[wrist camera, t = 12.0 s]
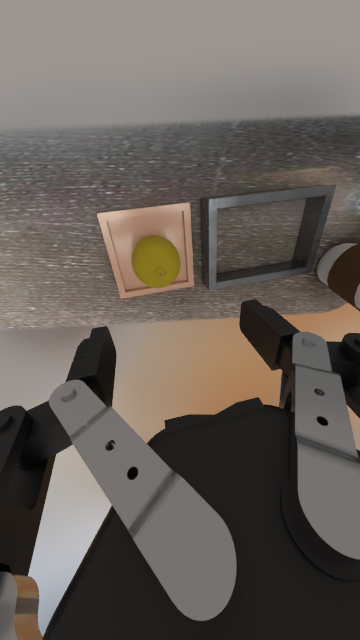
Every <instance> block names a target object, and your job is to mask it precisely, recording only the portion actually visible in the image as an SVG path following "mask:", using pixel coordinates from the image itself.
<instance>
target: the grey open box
mask: <svg viewBox="0 0 360 640" xmlns="http://www.w3.org/2000/svg"><path fill="white" fill-rule="evenodd" d="M335 188H336V185H315V186H306V187H298V188H289V189H280V190H272V191H263V192H254V193H245V194H237V195H228V196H219V197H211V198H202V199H201V227H202V268H203V283H204V284H205V286H206V287H207V288H208V289H209V290H215V289H220V288H226V287H232V286H237V285H243V284H249V283H254V282H260V281H266V280H271V279H277V278H283V277H289V276H294V275H300V274H306V273H311V269H312V266H313V263H314V259H315V256H316V252H317V249H318V246H319V242H320V239H321V235H322V232H323V229H324V225H325V222H326V219H327V215H328V212H329V208H330V205H331V202H332V198H333V195H334V191H335ZM300 198H307V202H306V207H305V211H304V215H303V219H302V224H301V228H300V232H299V236H298V241H297V245H296V249H295V254H294V258H293V261H292V262H286V263H279V264H273V265H267V266H261V267H255V268H249V269H243V270H237V271H231V272H225V273H219V274H216V261H217V209H219V208H227V207H235V206H244V205H252V204H260V203H268V202H276V201H284V200H292V199H300Z"/></svg>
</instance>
